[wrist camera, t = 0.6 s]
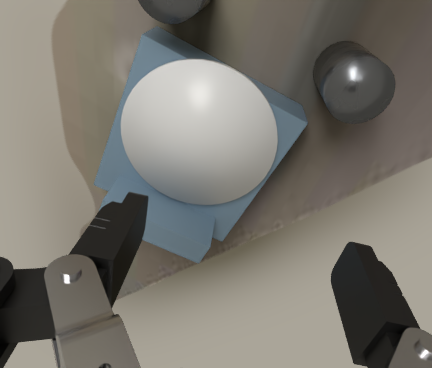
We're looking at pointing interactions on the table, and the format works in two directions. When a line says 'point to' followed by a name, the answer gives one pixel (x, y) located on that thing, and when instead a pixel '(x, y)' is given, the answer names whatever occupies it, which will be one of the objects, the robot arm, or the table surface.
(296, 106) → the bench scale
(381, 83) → the cylinder
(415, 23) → the table surface
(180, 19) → the cylinder
